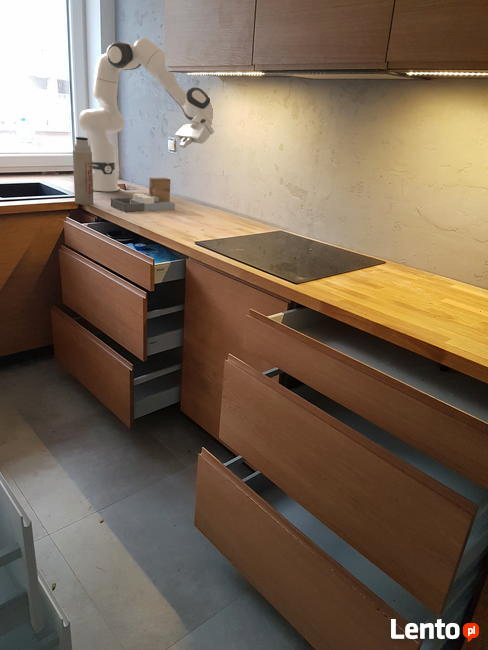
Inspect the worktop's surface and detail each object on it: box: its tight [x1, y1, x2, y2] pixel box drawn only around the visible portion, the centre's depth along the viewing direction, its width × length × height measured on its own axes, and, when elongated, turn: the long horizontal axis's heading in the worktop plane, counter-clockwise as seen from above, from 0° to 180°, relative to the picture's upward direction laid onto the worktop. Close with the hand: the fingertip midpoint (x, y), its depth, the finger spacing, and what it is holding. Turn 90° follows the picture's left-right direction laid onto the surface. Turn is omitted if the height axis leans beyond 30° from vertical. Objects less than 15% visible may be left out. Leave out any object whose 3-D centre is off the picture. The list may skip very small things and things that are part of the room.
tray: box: [110, 197, 145, 213], centre depth 219 cm, size 13×10×4 cm
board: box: [130, 198, 176, 212], centre depth 228 cm, size 12×16×3 cm
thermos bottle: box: [72, 136, 94, 206], centre depth 217 cm, size 8×8×28 cm
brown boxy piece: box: [143, 177, 171, 204], centre depth 227 cm, size 12×9×10 cm
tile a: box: [132, 193, 148, 201], centre depth 225 cm, size 5×5×2 cm
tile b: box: [139, 196, 154, 204], centre depth 221 cm, size 5×5×2 cm
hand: (181, 146), depth 229 cm, fingers closed
